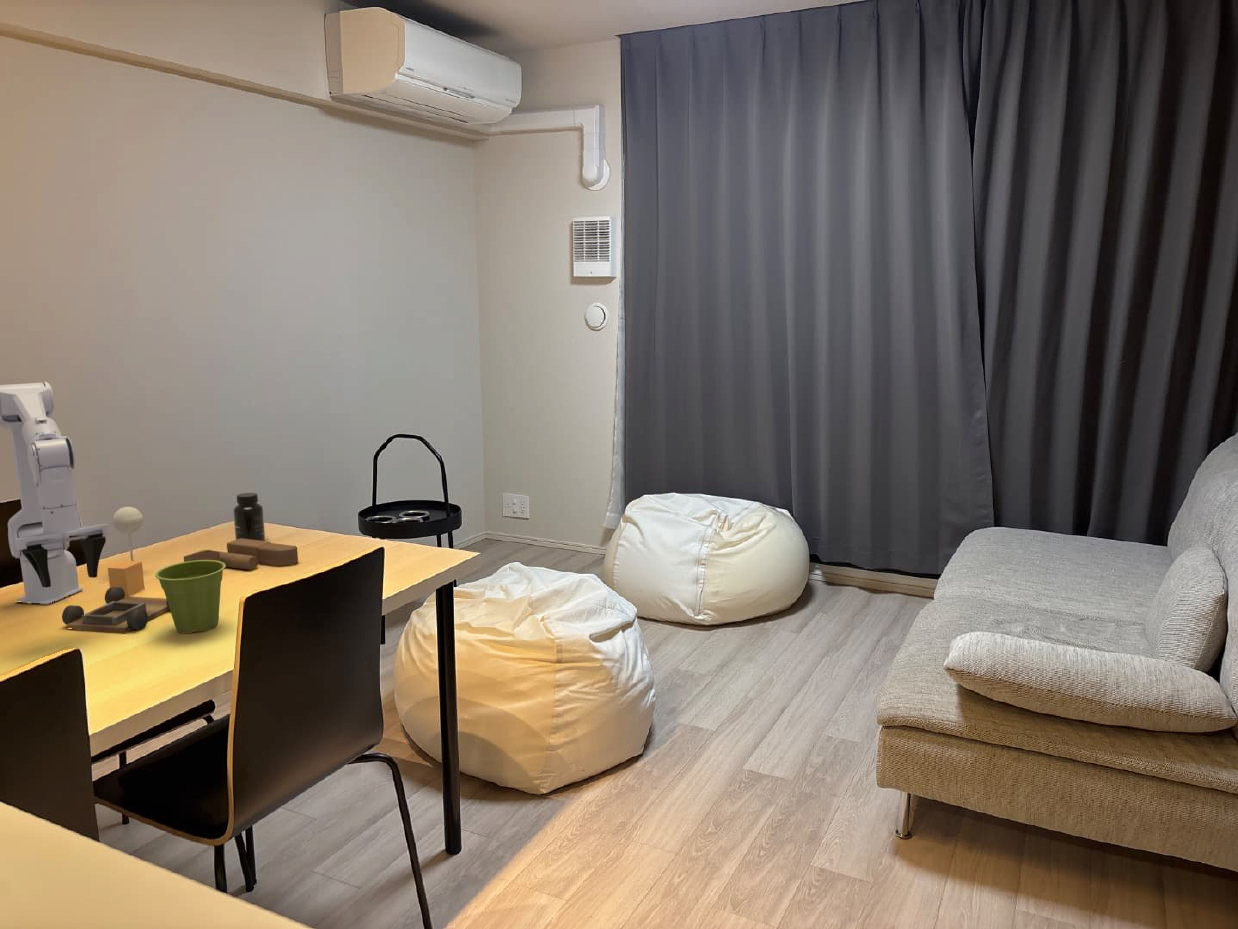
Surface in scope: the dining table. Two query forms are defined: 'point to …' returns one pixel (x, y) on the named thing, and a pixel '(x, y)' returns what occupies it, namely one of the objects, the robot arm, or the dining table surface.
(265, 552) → the wooden block set
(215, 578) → the plant pot
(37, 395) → the robot arm
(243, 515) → the supplement bottle
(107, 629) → the chassis board
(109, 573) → the tan wooden cube
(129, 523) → the lollipop
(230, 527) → the dining table surface
